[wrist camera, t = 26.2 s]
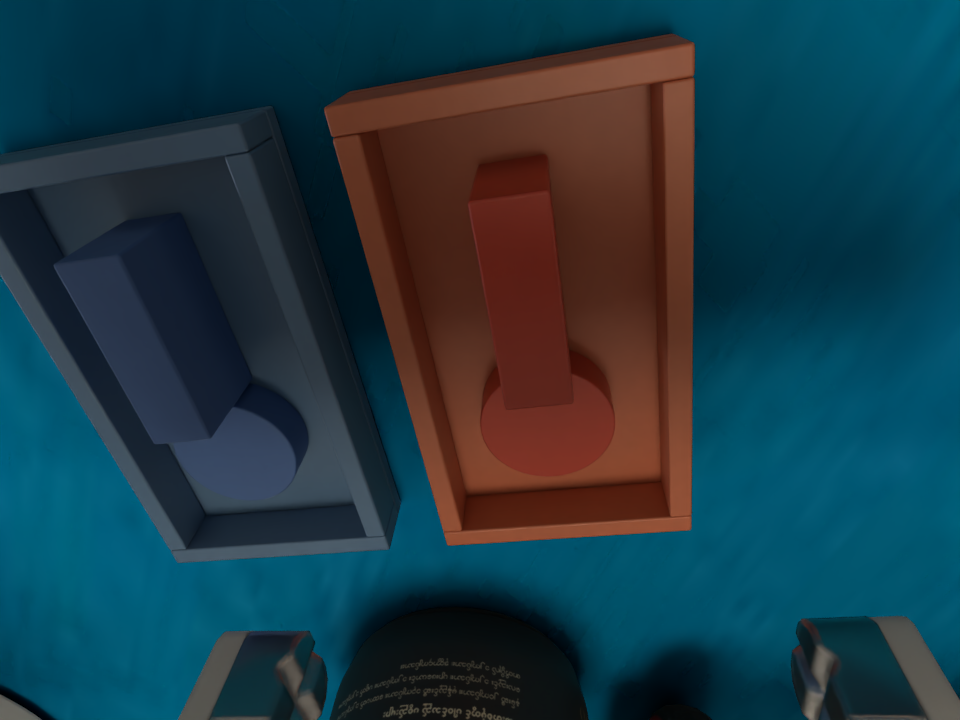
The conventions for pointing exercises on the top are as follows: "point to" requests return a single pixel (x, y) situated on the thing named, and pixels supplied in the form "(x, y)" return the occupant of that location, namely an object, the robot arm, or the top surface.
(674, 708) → the headphones
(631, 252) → the terracotta tray
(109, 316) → the navy paddle shape
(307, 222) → the blue tray
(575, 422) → the red paddle shape
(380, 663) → the jar
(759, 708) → the top surface
